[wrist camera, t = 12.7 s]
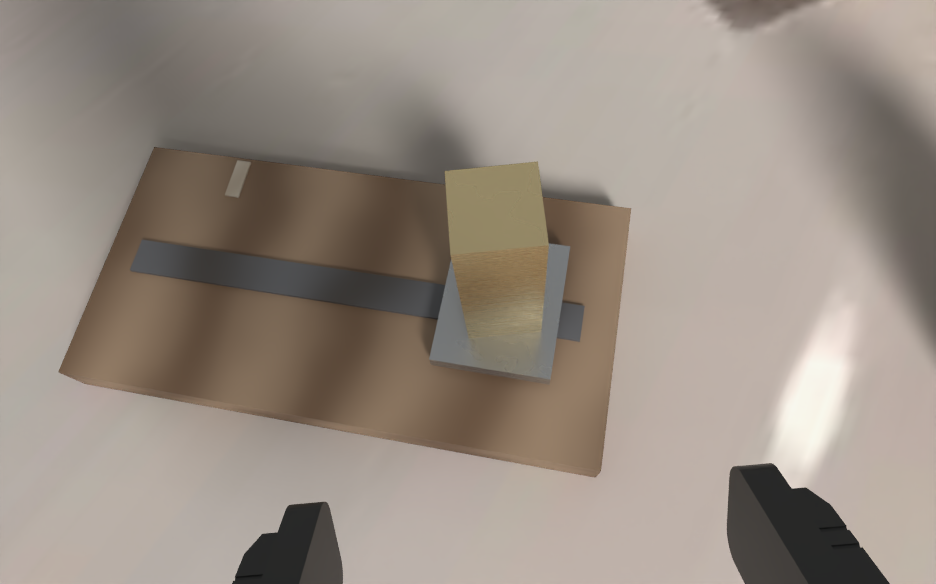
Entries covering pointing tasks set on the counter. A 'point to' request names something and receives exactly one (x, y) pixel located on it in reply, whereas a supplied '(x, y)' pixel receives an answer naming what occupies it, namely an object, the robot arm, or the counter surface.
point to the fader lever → (500, 276)
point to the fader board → (338, 310)
